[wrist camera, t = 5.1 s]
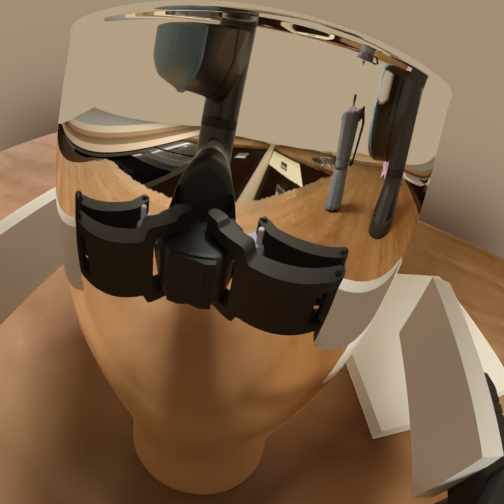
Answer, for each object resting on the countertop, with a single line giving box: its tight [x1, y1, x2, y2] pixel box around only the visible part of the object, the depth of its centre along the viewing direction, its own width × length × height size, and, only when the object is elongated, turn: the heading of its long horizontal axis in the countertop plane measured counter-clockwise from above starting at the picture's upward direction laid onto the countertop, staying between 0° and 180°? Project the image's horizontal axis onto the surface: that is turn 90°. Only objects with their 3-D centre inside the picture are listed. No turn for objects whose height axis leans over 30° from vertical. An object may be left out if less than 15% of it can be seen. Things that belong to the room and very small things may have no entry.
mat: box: [345, 274, 504, 439], centre depth 21 cm, size 14×14×1 cm
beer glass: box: [56, 0, 452, 495], centre depth 9 cm, size 7×7×15 cm
